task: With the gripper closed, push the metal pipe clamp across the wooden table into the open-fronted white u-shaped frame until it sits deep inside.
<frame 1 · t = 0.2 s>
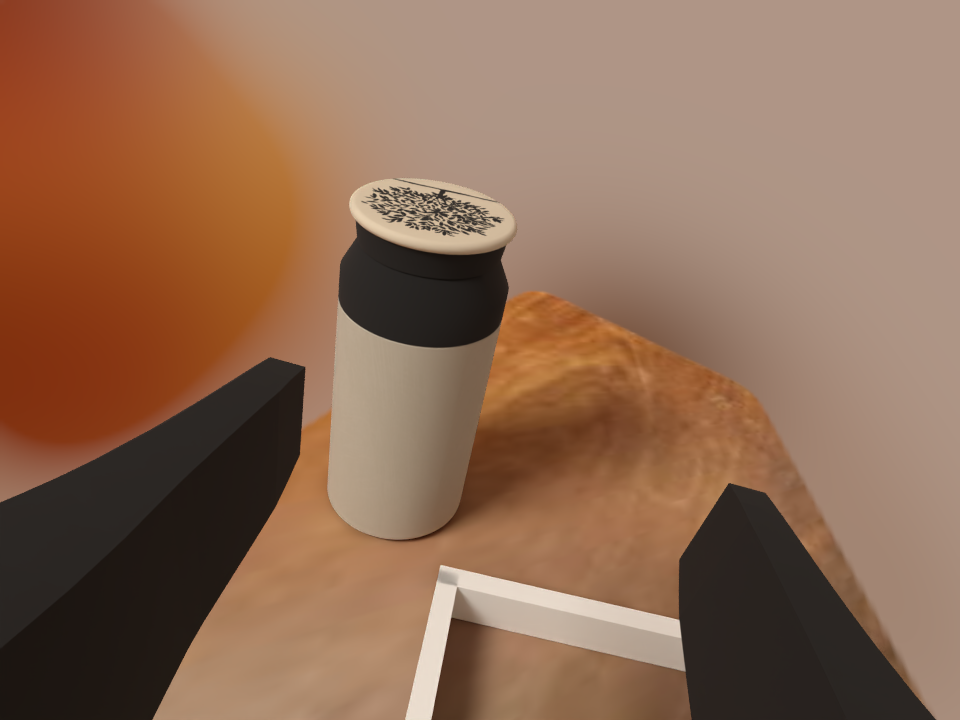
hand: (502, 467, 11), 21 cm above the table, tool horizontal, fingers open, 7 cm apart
travel mug: (394, 492, 38), on the table
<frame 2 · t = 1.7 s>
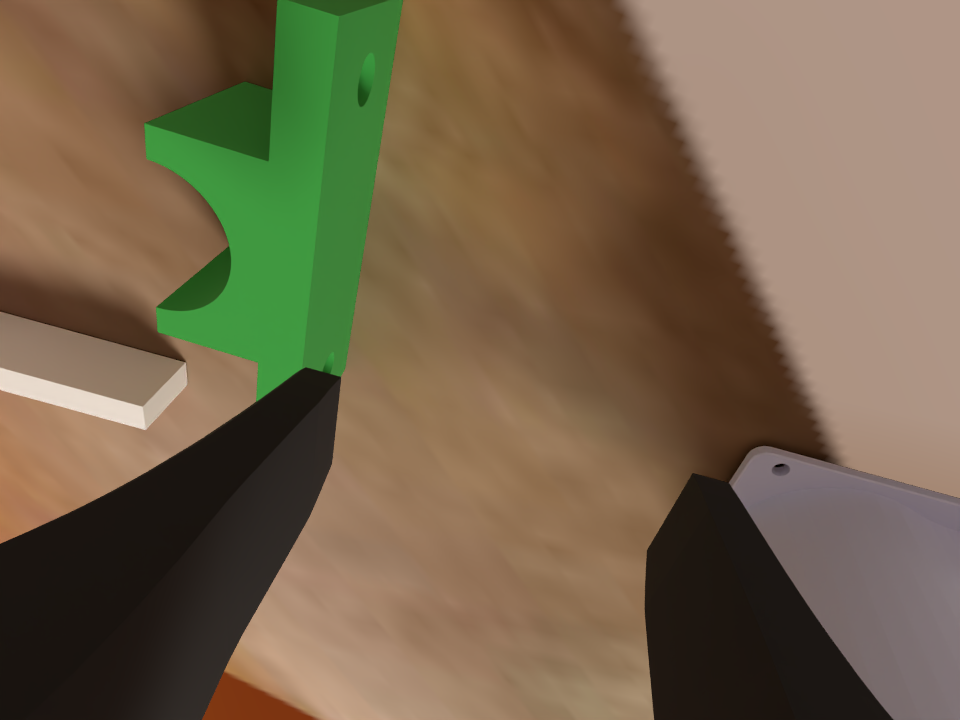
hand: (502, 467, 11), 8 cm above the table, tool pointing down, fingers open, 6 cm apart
pipe clamp: (314, 191, 18), on the table
white u-shaped frame: (24, 117, 18), on the table
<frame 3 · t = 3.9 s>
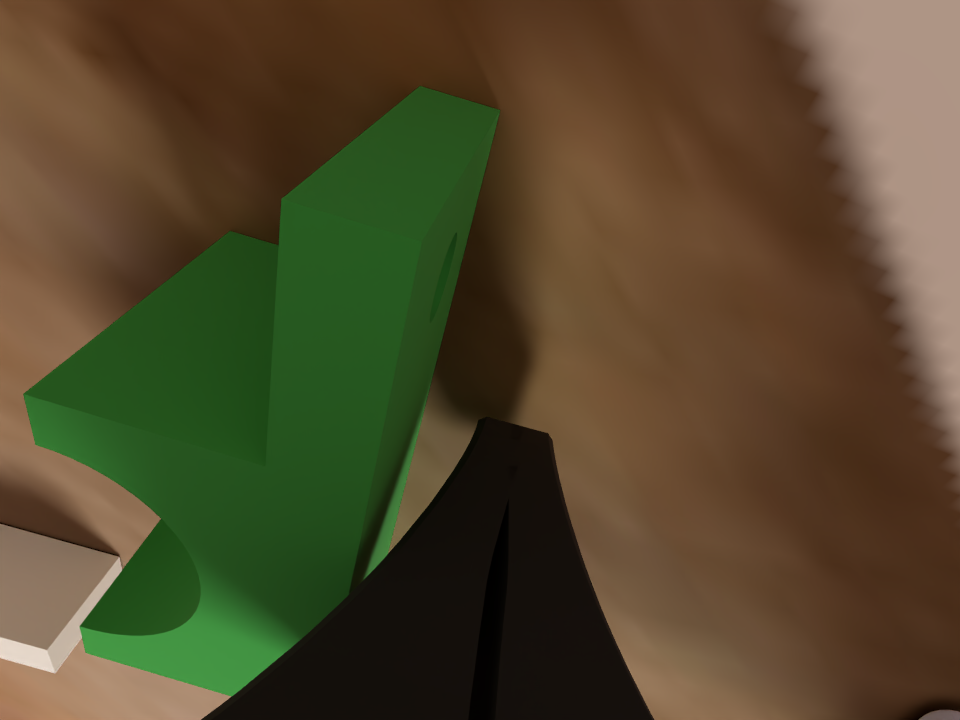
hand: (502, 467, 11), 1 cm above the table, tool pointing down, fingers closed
pipe clamp: (338, 376, 12), on the table, touching gripper
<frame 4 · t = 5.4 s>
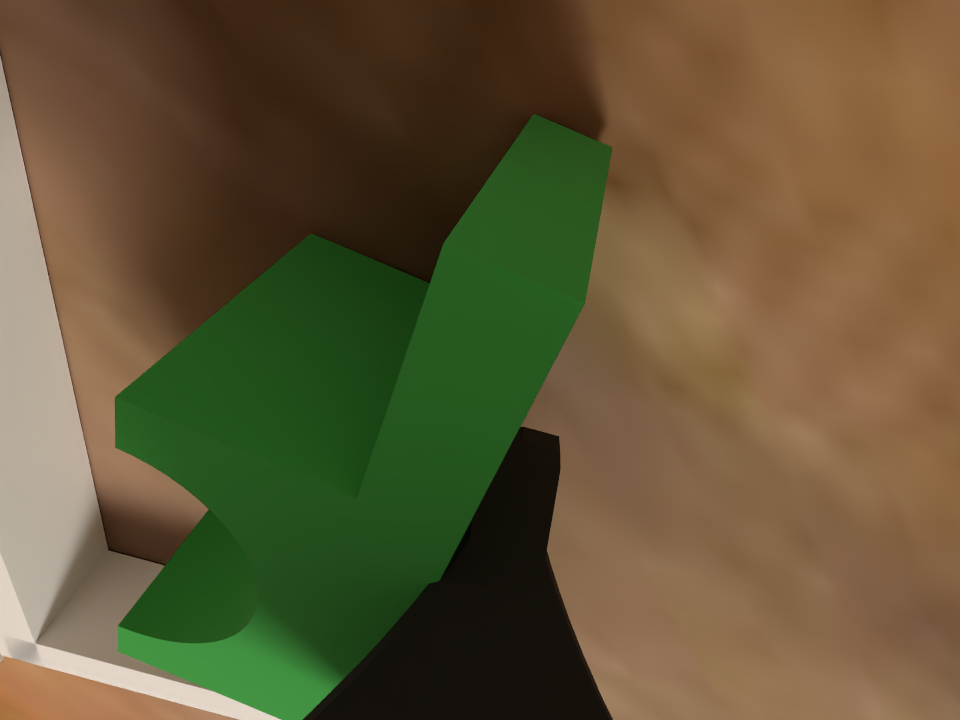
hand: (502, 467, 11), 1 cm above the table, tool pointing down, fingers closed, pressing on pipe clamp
pipe clamp: (392, 390, 12), on the table, touching gripper
white u-shaped frame: (240, 353, 11), on the table
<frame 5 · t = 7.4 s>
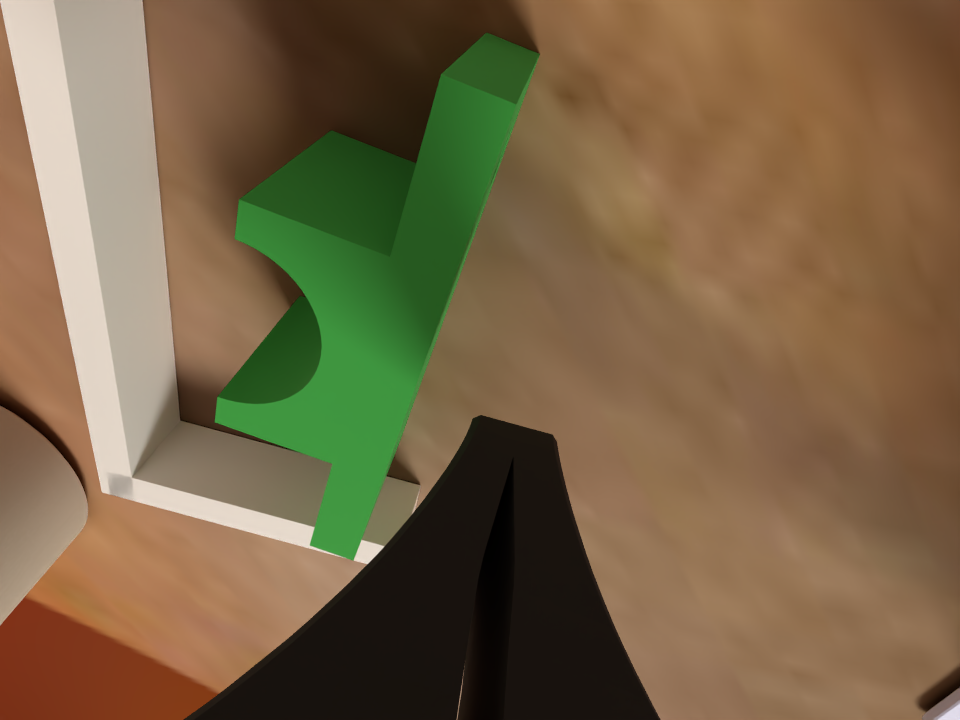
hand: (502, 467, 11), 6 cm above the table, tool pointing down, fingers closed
pipe clamp: (393, 253, 16), on the table
white u-shaped frame: (299, 238, 15), on the table
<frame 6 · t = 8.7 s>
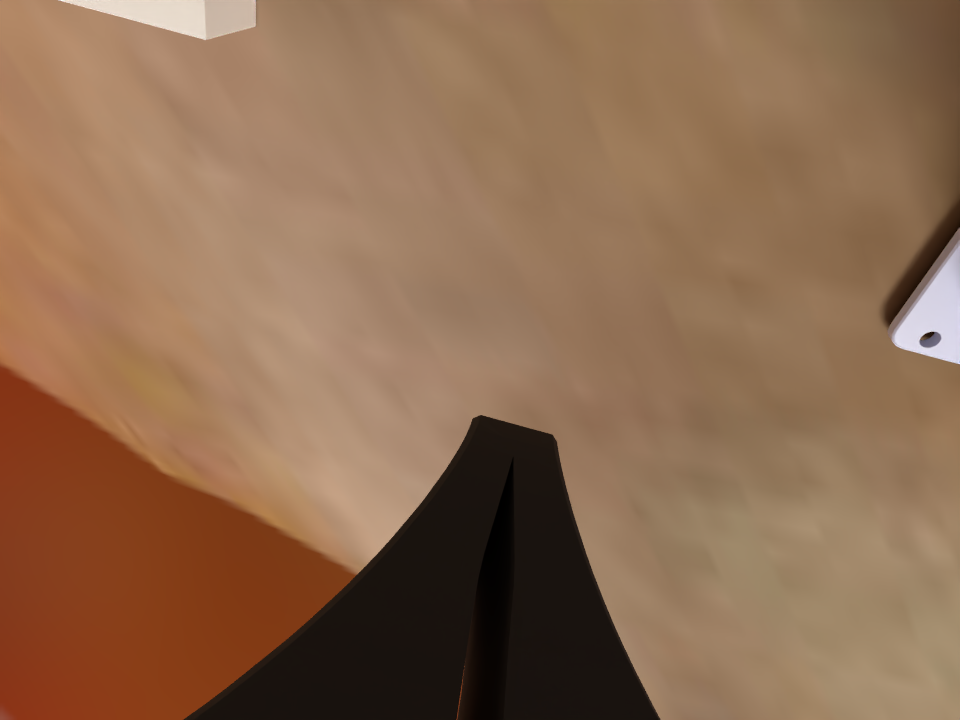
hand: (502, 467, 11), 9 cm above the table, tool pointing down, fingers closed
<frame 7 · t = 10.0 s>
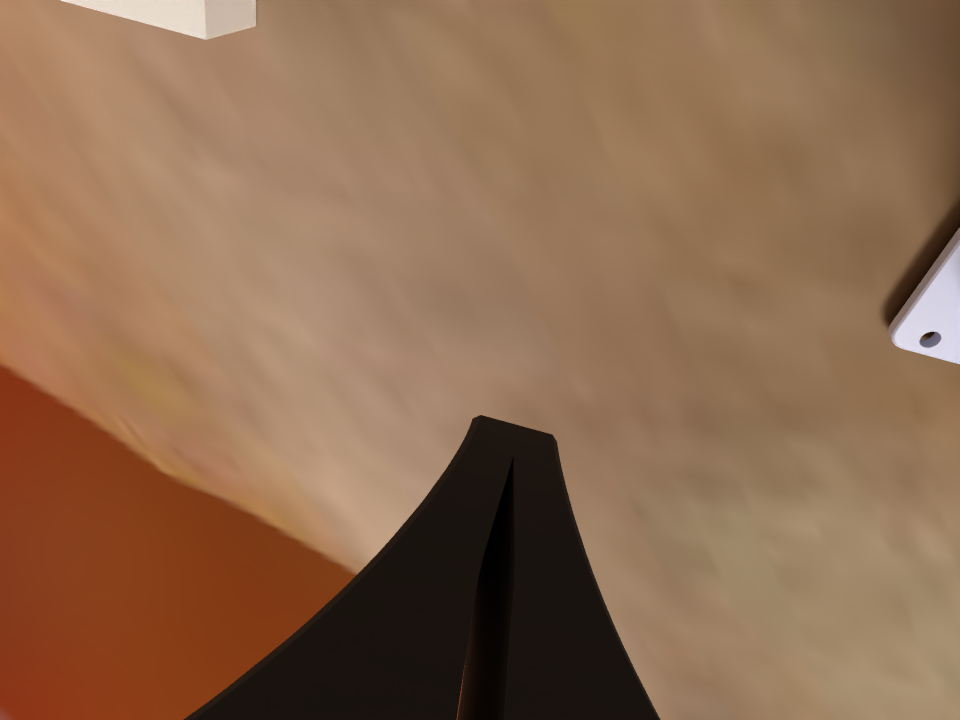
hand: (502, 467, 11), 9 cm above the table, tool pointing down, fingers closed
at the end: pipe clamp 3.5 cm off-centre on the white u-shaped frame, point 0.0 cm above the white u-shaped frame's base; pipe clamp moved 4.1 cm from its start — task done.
